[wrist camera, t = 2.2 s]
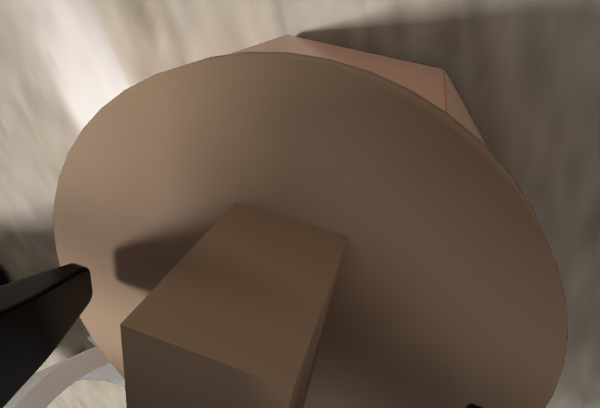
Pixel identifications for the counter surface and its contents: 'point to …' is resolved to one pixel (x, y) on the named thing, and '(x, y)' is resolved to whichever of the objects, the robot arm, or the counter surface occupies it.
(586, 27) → the counter surface
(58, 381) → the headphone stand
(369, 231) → the lid
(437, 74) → the bowl
